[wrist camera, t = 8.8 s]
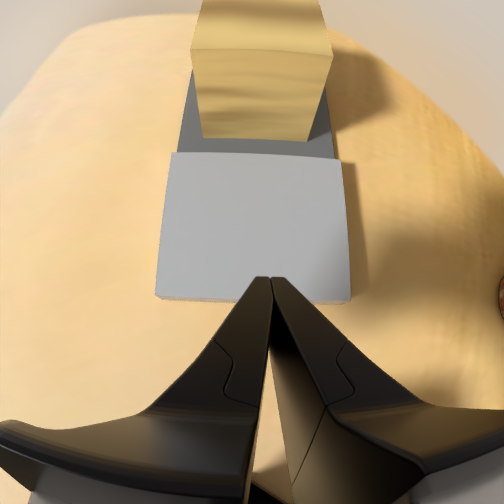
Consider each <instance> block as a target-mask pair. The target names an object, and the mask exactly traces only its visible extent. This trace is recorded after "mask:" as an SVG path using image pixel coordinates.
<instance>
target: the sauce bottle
mask: <svg viewBox="0 0 504 504" xmlns="http://www.w3.org/2000/svg"><path fill="white" fill-rule="evenodd" d="M499 305H500V310H501V314H502V317H503V319H504V277H503V279H502V281H501V284H500V289H499Z"/></svg>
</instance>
